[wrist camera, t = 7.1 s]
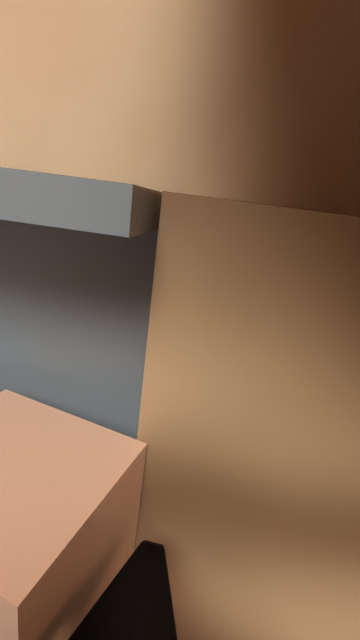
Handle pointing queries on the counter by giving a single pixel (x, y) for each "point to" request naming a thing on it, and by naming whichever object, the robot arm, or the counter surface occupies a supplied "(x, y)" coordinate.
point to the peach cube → (61, 515)
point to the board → (254, 419)
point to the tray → (76, 293)
